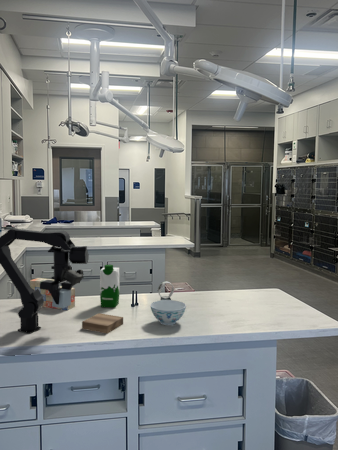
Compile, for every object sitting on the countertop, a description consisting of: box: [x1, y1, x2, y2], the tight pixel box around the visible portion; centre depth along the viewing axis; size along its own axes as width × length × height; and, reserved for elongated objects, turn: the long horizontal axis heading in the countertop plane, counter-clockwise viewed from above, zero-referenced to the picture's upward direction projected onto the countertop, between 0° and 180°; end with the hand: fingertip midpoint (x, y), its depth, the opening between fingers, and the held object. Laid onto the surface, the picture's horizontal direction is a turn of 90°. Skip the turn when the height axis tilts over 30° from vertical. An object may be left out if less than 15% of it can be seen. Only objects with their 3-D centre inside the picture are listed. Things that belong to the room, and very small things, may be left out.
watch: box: [156, 281, 175, 300], centre depth 197 cm, size 6×8×11 cm
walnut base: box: [81, 312, 124, 334], centre depth 165 cm, size 12×12×3 cm
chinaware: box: [149, 299, 187, 326], centre depth 170 cm, size 15×15×8 cm
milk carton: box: [99, 264, 120, 309], centre depth 193 cm, size 9×9×20 cm
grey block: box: [52, 289, 71, 308], centre depth 158 cm, size 5×5×6 cm
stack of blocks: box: [29, 277, 76, 311], centre depth 191 cm, size 21×6×12 cm, turn 69°
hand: (61, 302), depth 159 cm, fingers closed on grey block, 5 cm apart
